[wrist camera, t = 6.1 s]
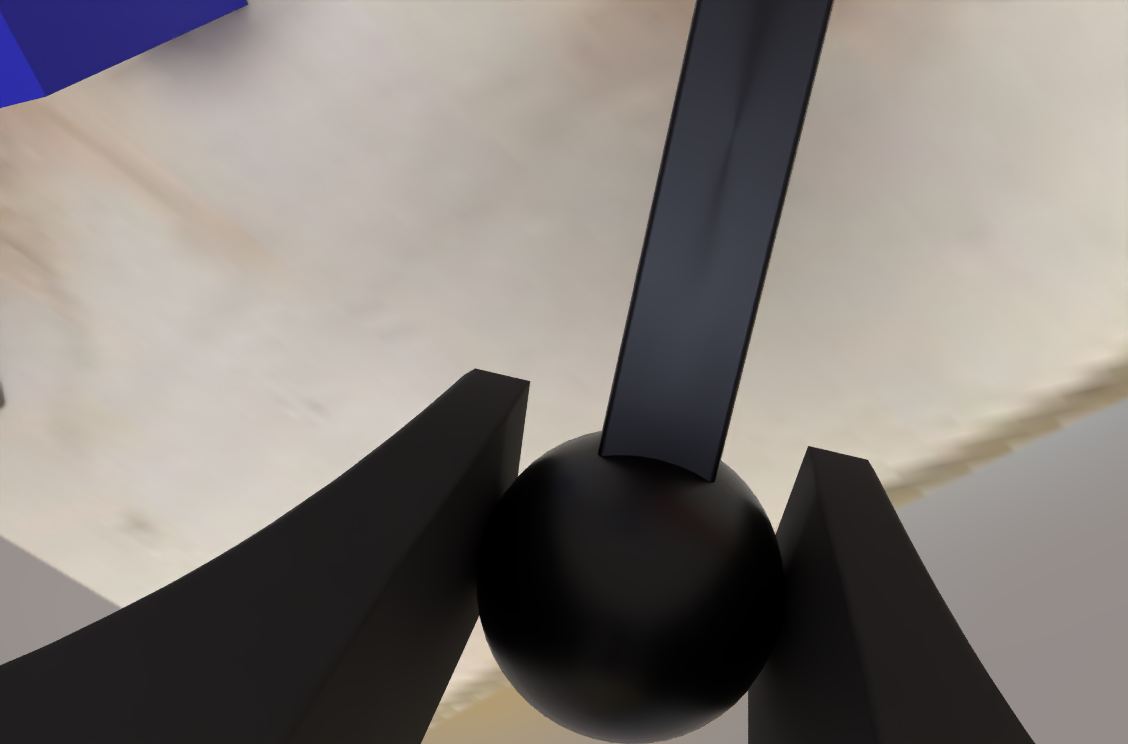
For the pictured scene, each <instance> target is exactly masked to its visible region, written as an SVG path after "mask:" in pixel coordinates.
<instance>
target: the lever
mask: <svg viewBox="0 0 1128 744" xmlns="http://www.w3.org/2000/svg"><path fill="white" fill-rule="evenodd" d="M833 3H834V0H696V4H695V9H694V13H693V18H692V22H691V27H690V32H689V36H688V41H687V45H686V50H685V54H684V59H683V64H682V68H681V73H680V77H679V82H678V86H677V91H676V96H675V100H674V105H673V109H672V114H671V118H670V123H669V128H668V132H667V137H666V141H665V146H664V151H663V155H662V160H661V164H660V169H659V173H658V178H657V183H656V187H655V192H654V196H653V201H652V205H651V210H650V215H649V219H648V224H647V228H646V233H645V237H644V242H643V247H642V251H641V256H640V260H639V265H638V269H637V274H636V279H635V283H634V288H633V292H632V297H631V301H630V306H629V311H628V315H627V320H626V324H625V329H624V333H623V338H622V343H621V347H620V352H619V356H618V361H617V366H616V370H615V375H614V379H613V384H612V388H611V393H610V398H609V402H608V407H607V411H606V416H605V420H604V425H603V430H602V431H599V432H595V433H590V434H586V435H583V436H580V437H578V438H575V439H572V440H569V441H567V442H565V443H563V444H561V445H559V446H557V447H555V448H553V449H551V450H549V451H548V452H547V453H545V454H544V455H542V456H541V457H540V458H538V459H537V460H535V461H534V462H533V463H532V464H531V465H530V466H529V467H528V468H527V469H525V470H524V471H523V472H522V473H521V474H520V475H519V476H518V477H517V478H516V479H515V481H514V482H513V483H512V484H511V486H510V487H509V488H508V489H507V490H506V492H505V493H504V495H503V496H502V498H501V500H500V501H499V503H498V505H497V506H496V508H495V510H494V512H493V514H492V516H491V519H490V521H489V523H488V526H487V529H486V532H485V534H484V538H483V542H482V545H481V549H480V553H479V560H478V567H477V577H476V584H477V602H478V609H479V615H480V619H481V623H482V627H483V630H484V634H485V637H486V640H487V643H488V645H489V647H490V650H491V652H492V654H493V657H494V658H495V660H496V662H497V663H498V665H499V667H500V669H501V670H502V672H503V673H504V675H505V676H506V677H507V679H508V680H509V681H510V683H511V684H512V685H513V687H514V688H515V689H516V690H517V692H518V693H519V694H520V695H521V696H522V697H523V698H524V699H525V700H526V701H527V702H528V703H529V704H530V705H532V706H533V707H534V708H535V709H536V710H538V711H539V712H540V713H542V714H543V715H544V716H545V717H547V718H549V719H550V720H552V721H554V722H555V723H557V724H558V725H560V726H562V727H564V728H566V729H569V730H571V731H573V732H575V733H578V734H581V735H584V736H587V737H590V738H593V739H597V740H602V741H607V742H612V743H624V744H644V743H653V742H660V741H666V740H669V739H672V738H676V737H680V736H683V735H685V734H687V733H690V732H692V731H694V730H697V729H699V728H701V727H703V726H704V725H706V724H708V723H709V722H711V721H713V720H714V719H716V718H718V717H719V716H721V715H722V714H723V713H724V712H725V711H727V710H728V709H730V708H731V707H732V706H733V705H735V703H736V702H737V701H738V700H739V699H740V698H741V697H742V696H743V695H744V694H745V693H746V692H747V691H748V689H749V688H750V687H751V685H752V684H753V682H754V681H755V680H756V678H757V677H758V675H759V674H760V673H761V671H762V670H763V668H764V666H765V664H766V662H767V660H768V658H769V657H770V655H771V653H772V650H773V647H774V644H775V641H776V638H777V635H778V632H779V628H780V623H781V618H782V613H783V607H784V592H785V586H784V574H783V563H782V557H781V553H780V549H779V545H778V541H777V538H776V536H775V533H774V530H773V528H772V525H771V523H770V521H769V518H768V516H767V515H766V513H765V511H764V509H763V507H762V506H761V504H760V502H759V500H758V499H757V497H756V496H755V495H754V493H753V492H752V491H751V489H750V488H749V487H748V485H747V484H746V483H745V482H744V481H743V480H742V479H741V478H740V477H739V476H738V475H737V474H736V473H735V472H734V471H733V470H732V469H731V468H730V467H729V466H727V465H726V464H725V463H724V462H722V461H721V457H722V453H723V449H724V444H725V440H726V436H727V432H728V428H729V424H730V420H731V416H732V412H733V408H734V404H735V400H736V396H737V392H738V388H739V384H740V380H741V376H742V372H743V368H744V364H745V359H746V355H747V351H748V347H749V343H750V339H751V335H752V331H753V327H754V323H755V319H756V315H757V311H758V307H759V303H760V299H761V295H762V291H763V287H764V283H765V279H766V274H767V270H768V266H769V262H770V258H771V254H772V250H773V246H774V242H775V238H776V234H777V230H778V226H779V222H780V218H781V214H782V210H783V206H784V202H785V198H786V194H787V189H788V185H789V181H790V177H791V173H792V169H793V165H794V161H795V157H796V153H797V149H798V145H799V141H800V137H801V133H802V129H803V125H804V121H805V117H806V113H807V109H808V104H809V100H810V96H811V92H812V88H813V84H814V80H815V76H816V72H817V68H818V64H819V60H820V56H821V52H822V48H823V44H824V40H825V36H826V32H827V28H828V24H829V19H830V15H831V11H832V7H833Z"/></svg>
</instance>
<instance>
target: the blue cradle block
mask: <svg viewBox="0 0 1128 744" xmlns="http://www.w3.org/2000/svg"><path fill="white" fill-rule="evenodd" d="M246 5H248V4H247V1H246V0H0V108H2V107H6V106H10V105H14V104H18V103H22V102H26V101H30V100H34V99H38V98H42V97H46V96H48V95H50V94H53V93H55V92H57V91H59V90H61V89H64V88H66V87H68V86H70V85H72V84H75V83H77V82H79V81H81V80H83V79H86V78H88V77H90V76H92V75H94V74H97V73H99V72H101V71H103V70H105V69H108V68H110V67H112V66H114V65H116V64H119V63H121V62H123V61H125V60H127V59H130V58H132V57H134V56H136V55H138V54H141V53H143V52H145V51H147V50H149V49H152V48H154V47H156V46H158V45H160V44H163V43H165V42H167V41H169V40H171V39H173V38H176V37H178V36H180V35H182V34H184V33H187V32H189V31H191V30H193V29H195V28H198V27H200V26H202V25H204V24H206V23H209V22H211V21H213V20H215V19H217V18H220V17H222V16H224V15H226V14H228V13H231V12H233V11H235V10H237V9H239V8H242V7H244V6H246Z"/></svg>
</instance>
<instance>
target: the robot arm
mask: <svg viewBox="0 0 1128 744" xmlns="http://www.w3.org/2000/svg"><path fill="white" fill-rule="evenodd" d="M529 386H530V381H527V380H523V379H518V378H514V377H510V376H505V375H501V374H497V373H492V372H488V371H484V370H480V369H474V370H472V371H470V372H468V373H467V374H465V375H464V376H462V377H461V378H460V379H459V380H458V381H457V382H456V383H455V384H453V385H452V386H451V387H450V388H449V389H448V390H447V391H445V392H444V393H443V394H442V395H441V396H440V397H439V398H437V399H436V400H435V401H434V402H433V403H432V404H430V405H429V406H428V407H427V408H426V409H424V410H423V411H422V412H421V413H420V414H419V415H417V416H416V417H415V418H414V419H412V420H411V421H410V422H409V423H408V424H406V425H405V426H404V427H403V428H401V429H400V430H399V431H398V432H397V433H395V434H394V435H393V436H392V437H390V438H389V439H388V440H386V441H385V442H384V443H383V444H381V445H380V446H379V447H377V448H376V449H375V450H373V451H372V452H371V453H370V454H368V455H367V456H366V457H364V458H363V459H362V460H360V461H359V462H358V463H357V464H355V465H354V466H353V467H351V468H350V469H349V470H347V471H346V472H345V473H343V474H342V475H341V476H339V477H338V478H337V479H335V480H334V481H333V482H331V483H330V484H328V485H327V486H325V487H324V488H322V489H321V490H320V491H318V492H317V493H315V494H314V495H312V496H311V497H309V498H308V499H306V500H305V501H303V502H302V503H301V504H299V505H298V506H296V507H295V508H293V509H292V510H290V511H289V512H287V513H286V514H284V515H283V516H282V517H280V518H279V519H277V520H276V521H274V522H273V523H271V524H270V525H268V526H267V527H265V528H264V529H262V530H260V531H259V532H257V533H256V534H254V535H252V536H251V537H249V538H248V539H246V540H244V541H243V542H241V543H240V544H238V545H236V546H235V547H233V548H231V549H230V550H228V551H226V552H225V553H223V554H221V555H220V556H218V557H216V558H215V559H213V560H211V561H209V562H208V563H206V564H204V565H202V566H201V567H199V568H197V569H195V570H194V571H192V572H190V573H188V574H187V575H185V576H183V577H181V578H180V579H178V580H176V581H174V582H172V583H170V584H169V585H167V586H165V587H163V588H161V589H159V590H157V591H155V592H153V593H151V594H149V595H147V596H146V597H144V598H142V599H140V600H138V601H136V602H134V603H132V604H130V605H128V606H126V607H124V608H122V609H120V610H118V611H116V612H114V613H112V614H111V615H109V616H107V617H104V618H102V619H101V620H99V621H96V622H95V623H92V624H91V625H88V626H86V627H84V628H82V629H80V630H78V631H76V632H74V633H72V634H70V635H68V636H65V637H63V638H61V639H60V640H57V641H55V642H53V643H51V644H49V645H46V646H44V647H42V648H40V649H38V650H35V651H33V652H31V653H28V654H26V655H23V656H21V657H19V658H16V659H14V660H12V661H9V662H7V663H5V664H2V665H0V744H421V742H422V740H423V737H424V735H425V733H426V731H427V729H428V727H429V724H430V722H431V720H432V718H433V716H434V714H435V711H436V709H437V707H438V705H439V703H440V700H441V698H442V696H443V694H444V692H445V690H446V687H447V685H448V683H449V681H450V679H451V676H452V674H453V672H454V670H455V668H456V666H457V663H458V661H459V659H460V657H461V655H462V652H463V650H464V648H465V646H466V643H467V641H468V639H469V637H470V635H471V632H472V630H473V628H474V626H475V624H476V621H477V619H478V617H479V609H478V602H477V584H476V577H477V567H478V560H479V553H480V549H481V545H482V542H483V538H484V534H485V532H486V529H487V526H488V523H489V521H490V519H491V516H492V514H493V512H494V510H495V508H496V506H497V505H498V503H499V501H500V500H501V498H502V496H503V495H504V493H505V492H506V490H507V489H508V488H509V487H510V486H511V484H512V483H513V482H514V481H515V479H516V478H517V477H518V470H519V462H520V454H521V447H522V439H523V432H524V424H525V416H526V409H527V401H528V394H529ZM775 536H776V538H777V541H778V545H779V549H780V553H781V557H782V563H783V574H784V586H785V592H784V607H783V613H782V618H781V623H780V628H779V632H778V635H777V638H776V641H775V644H774V647H773V650H772V653H771V655H770V657H769V658H768V660H767V662H766V664H765V666H764V668H763V670H762V671H761V673H760V674H759V675H758V677H757V678H756V680H755V681H754V682H753V684H752V685H751V687H750V688H749V689H748V744H1035V743H1034V742H1033V740H1032V739H1031V737H1030V736H1029V734H1028V733H1027V732H1026V730H1025V729H1024V727H1023V726H1022V724H1021V723H1020V721H1019V720H1018V718H1017V717H1016V715H1015V714H1014V712H1013V711H1012V709H1011V708H1010V706H1009V705H1008V703H1007V702H1006V700H1005V699H1004V697H1003V696H1002V694H1001V693H1000V691H999V690H998V688H997V687H996V685H995V683H994V682H993V680H992V679H991V677H990V676H989V674H988V673H987V671H986V669H985V668H984V666H983V665H982V663H981V661H980V660H979V658H978V657H977V655H976V653H975V652H974V650H973V649H972V647H971V645H970V644H969V643H968V640H967V639H966V637H965V635H964V634H963V632H962V630H961V628H960V627H959V625H958V623H957V622H956V620H955V618H954V617H953V615H952V613H951V611H950V610H949V608H948V606H947V605H946V603H945V601H944V600H943V598H942V596H941V594H940V593H939V591H938V589H937V588H936V586H935V584H934V582H933V580H932V579H931V577H930V575H929V573H928V571H927V570H926V568H925V566H924V564H923V562H922V561H921V559H920V557H919V555H918V553H917V551H916V549H915V548H914V546H913V544H912V542H911V540H910V538H909V536H908V535H907V533H906V531H905V529H904V527H903V525H902V523H901V521H900V519H899V517H898V515H897V513H896V511H895V510H894V508H893V506H892V504H891V502H890V500H889V498H888V496H887V494H886V492H885V490H884V488H883V486H882V484H881V482H880V480H879V478H878V477H877V475H876V473H875V471H874V469H873V468H872V466H871V464H870V463H869V461H868V460H866V459H862V458H858V457H853V456H849V455H845V454H840V453H836V452H832V451H828V450H823V449H819V448H815V447H810V446H808V448H807V451H806V453H805V456H804V459H803V462H802V464H801V467H800V470H799V473H798V475H797V478H796V481H795V483H794V486H793V489H792V492H791V494H790V497H789V500H788V503H787V505H786V508H785V511H784V513H783V516H782V519H781V522H780V524H779V527H778V530H777V532H776V535H775Z"/></svg>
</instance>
